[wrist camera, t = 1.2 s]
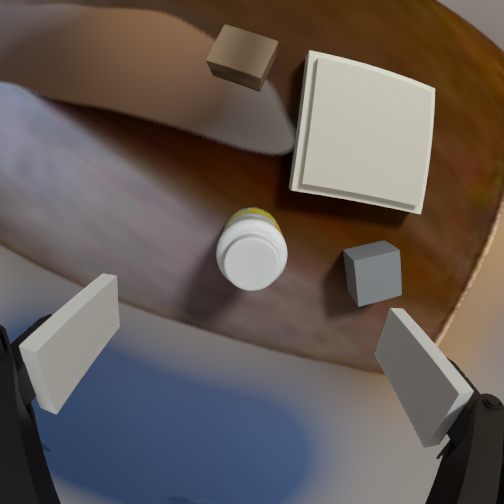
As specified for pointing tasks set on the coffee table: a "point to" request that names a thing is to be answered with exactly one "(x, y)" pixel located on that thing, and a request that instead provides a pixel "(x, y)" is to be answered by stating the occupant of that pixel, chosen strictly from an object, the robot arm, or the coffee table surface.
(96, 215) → the coffee table surface
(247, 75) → the walnut block
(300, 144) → the podium
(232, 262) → the supplement bottle
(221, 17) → the coffee table surface
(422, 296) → the coffee table surface
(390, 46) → the coffee table surface
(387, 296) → the grey matte cube
